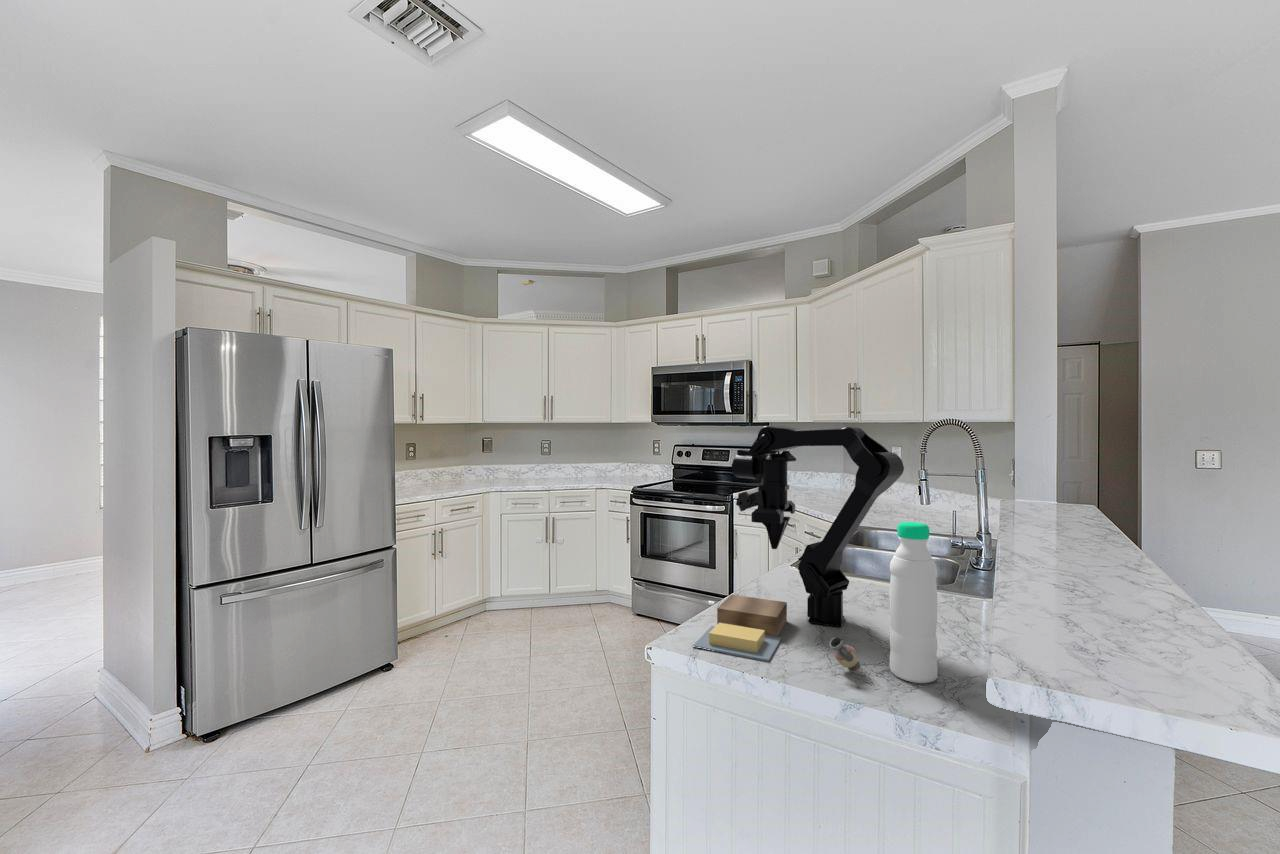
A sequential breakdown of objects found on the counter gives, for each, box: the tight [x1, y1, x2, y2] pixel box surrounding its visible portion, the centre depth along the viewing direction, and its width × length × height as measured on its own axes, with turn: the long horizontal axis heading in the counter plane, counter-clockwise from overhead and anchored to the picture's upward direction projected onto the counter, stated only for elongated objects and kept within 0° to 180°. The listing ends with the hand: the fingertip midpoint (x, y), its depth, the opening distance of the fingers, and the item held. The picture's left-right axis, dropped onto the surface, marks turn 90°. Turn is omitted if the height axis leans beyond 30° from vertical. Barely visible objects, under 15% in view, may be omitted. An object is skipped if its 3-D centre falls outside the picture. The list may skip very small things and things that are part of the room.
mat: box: [692, 625, 782, 663], centre depth 102 cm, size 14×11×1 cm
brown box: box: [716, 594, 788, 637], centre depth 112 cm, size 12×10×4 cm
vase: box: [828, 637, 870, 679], centre depth 90 cm, size 5×5×6 cm
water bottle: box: [889, 521, 938, 684], centre depth 89 cm, size 7×7×25 cm
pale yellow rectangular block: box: [709, 623, 765, 653], centre depth 102 cm, size 9×6×2 cm, turn 64°
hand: (774, 548), depth 124 cm, fingers closed
